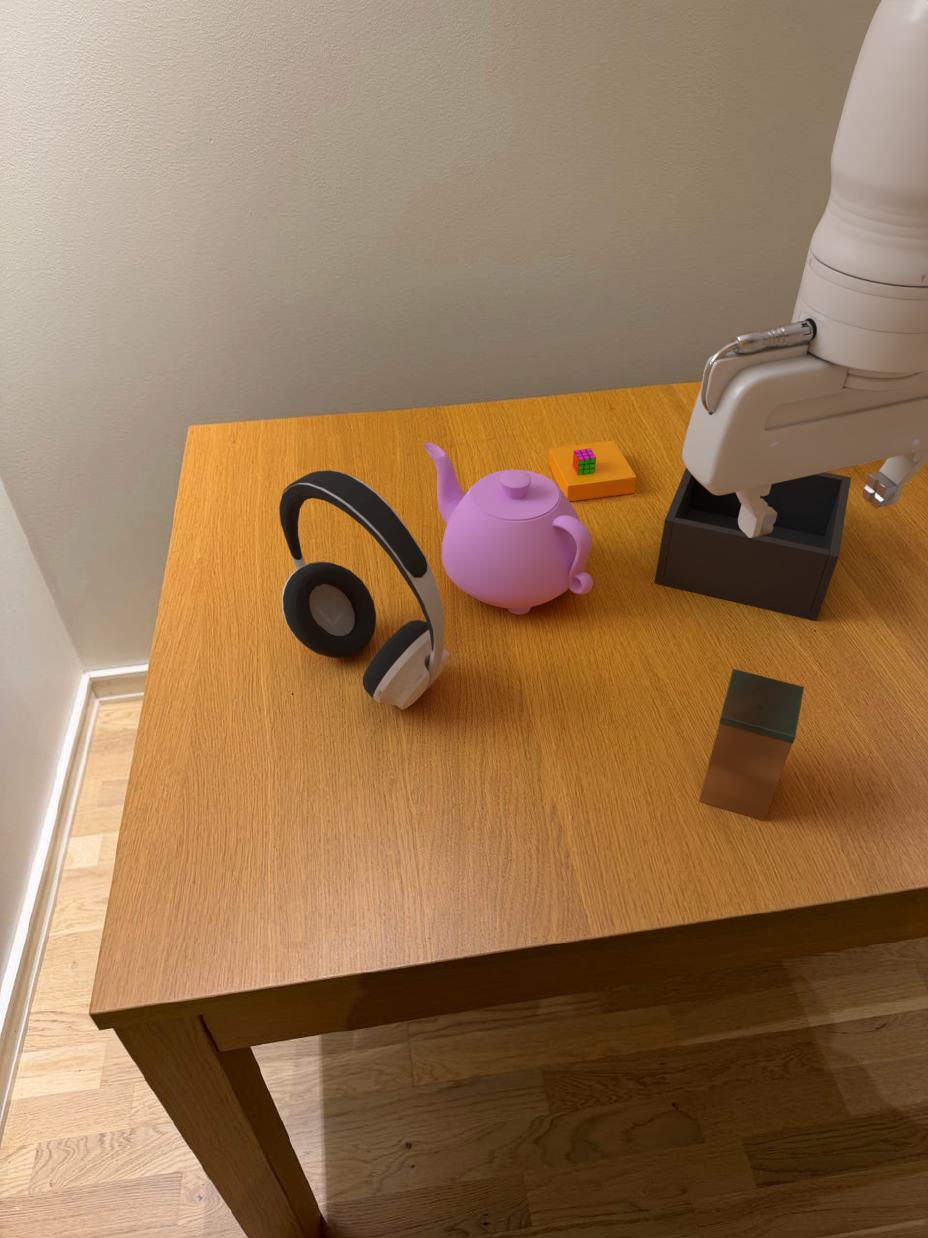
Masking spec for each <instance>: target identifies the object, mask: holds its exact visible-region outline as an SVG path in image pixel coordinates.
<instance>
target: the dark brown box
mask: <svg viewBox="0 0 928 1238" xmlns="http://www.w3.org/2000/svg"><path fill="white" fill-rule="evenodd" d="M851 481H852V478H851V476H845V475H841V474H835V473H831V472H824V473H819V474H815V475H810V476H806V477H801V478H797V479H792V480H788V481H783V482H779V483H774V484H771V488H770V492H769V494H768V495H766V496H761V495H760V498H762V499H763V500H764V501H765V502H767V503H768V506H769V507H772V508H773V509H774V510H775V511H776V512H777V517H776V521H775V523H774V524H773V525H772V526H773V527H774V528H773V532H771V533H769V534H765V535H761V536H757V537H752V538H749V537H748V536H747V535H746V534H745V533H744V532H743V531H742V530H741V529H740V528H739V525H738V518H739V513H740V509H741V503H740V501H739V499H738V497H737V495H736V492H734V493H730V494H725V495H714V494H712V493H711V492H710V491H708V490H707V489H706V488H705V487H704V486H703V485H702V484H700V483H699V482H698V481H697V480H696V479H695V478H694V476H693V475H692V474H691V473H690V472H689V470H688V469H687V468H686V467H685V469H684V472H683V474H682V477H681V479H680V482H679V483H678V487H677V489H676V491H675V494H674V496H673V499H672V501H671V503H670V506H669V508H668V510H667V514H666V516H665V519H664V522H663V529H662V534H661V542H660V547H659V553H658V560H657V564H656V571H655V577H654V584H657V585H661V586H665V587H670V588H674V589H678V590H682V591H686V592H691V593H695V594H699V595H704V596H708V597H712V598H717V599H720V600H725V601H729V602H733V603H739V604H743V605H747V606H751V607H755V608H759V609H764V610H768V611H772V612H777V613H781V614H785V615H789V616H794V617H798V618H803V619H807V620H811V621H815V622H817V621H818V619H819V616H820V614H821V609H822V607H823V604H824V601H825V598H826V595H827V592H828V590H829V587H830V583H831V580H832V578H833V575H834V572H835V569H836V566H837V563H838V560H839V557H840V551H841V545H842V539H843V532H844V526H845V518H846V513H847V506H848V501H849V494H850V488H851V487H850V486H851Z"/></svg>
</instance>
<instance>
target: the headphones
mask: <svg viewBox="0 0 928 1238" xmlns="http://www.w3.org/2000/svg"><path fill="white" fill-rule="evenodd" d="M310 499H316V500H320V501H324V502H326V503H329V504H331V505H333V506H335V507H336V508H338V509H339V510H340V511H342V512H344V513H345V514H347V515H348V516H349V517H350V518H352V519H353V520H354V521H355V522H357V523H358V524H359V525H360V526H361V527H363V528H364V529H365V530H366V531H367V532H368V533H369V534H370V536H372V537H373V539H374V540H375V541H376V542H377V543H378V544H379V546H380V547H381V548H382V549H383V551H384V552H385V553H386V554H387V556H389V558H390V559H391V561H392V562H393V563H394V566H395V567H396V568H397V570H398V571H399V573H400V574H401V576H402V577H403V579H404V581H405V582H406V583H407V585H408V587H409V588H410V590H411V591H412V593H413V595H414V597H415V599H416V600H417V602H418V605H419V607H420V609H421V612H422V614H423V616H424V618H425V621H424V620H420V619H414V620H410V621H408V622H406V623H405V624H403V625H402V626H401V627H399V628H398V630H397V631H396V632H394V633H393V634H392V635H391V636H390V637H389V638H388V639H387V640H386V641H385V642H384V643H383V645H382V646H380V648H379V649H378V651H377V652H376V653H375V654H374V656H373V657H372V659H371V660H370V662H369V663H368V666H367V667H366V669H365V670H364V674H363V676H362V686H363V689H364V690H365V692H366V693H367V694H368V695H369V697H371V699H372V700H374V701H375V702H376V703H378V704H379V705H381V704H388V705H392V706H396V707H397V708H398V709H400V710H402V711H403V710H405V709H407V708H408V707H409V708H410V706H411V705H413V704H414V703H416V701H417V700H419V698H420V697H422V695H423V694H424V693H425V692H426V690H428V689H430V687H431V686H432V685H433V683H434V682H435V681H436V680H437V678H438V677H439V676H440V675H441V673H442V672H443V671H444V669H445V668H446V666H447V664H448V662H449V660H450V657H451V654H450V653H449V652H448V651H447V649H446V648H445V609H444V606H443V602H442V601H443V600H442V597H441V594H440V589H439V587H438V584H437V580H436V578H435V575H434V573H433V571H432V568H431V565H430V564H429V561H428V559H427V557H426V555H425V553H424V551H423V550H422V548H421V547H420V545H419V543H418V542H417V540H416V538H415V537H414V536H413V534H412V533H411V531H410V530H409V529H408V527H407V525H406V524H405V523H404V521H403V520H402V519H401V517H400V516H399V514H398V513H397V512H396V511H395V510H394V508H393V507H392V506H391V505H390V504H389V502H388V501H386V500H385V499H384V498H383V497H382V496H381V495H380V494H379V493H378V492H377V491H376V490H375V489H373V488H372V487H371V486H370V485H368V484H366V483H365V482H364V481H362V480H360V479H359V478H356V477H354V476H353V475H350V474H347V473H344V472H342V471H340V470H339V471H338V470H331V469H327V470H326V469H325V470H317V471H312V472H310V473H307V474H306V475H304V476H302V477H300V478H298V479H296V480H295V481H293V482H290V483H289V484H288V485H287V486H286V487H285V488H284V489H283V492H282V494H281V498H280V502H279V506H278V510H279V522H280V525H281V528H282V529H281V530H282V531H283V535H284V538H285V542H286V544H287V547H288V550H289V553H290V556H291V559H292V561H293V563H294V567H295V569H296V570H294V571H293V572H292V573H291V575H290V576H289V577H288V578H287V580H286V581H285V584H284V586H283V589H282V592H281V611H282V616H283V619H284V622H285V624H286V625H287V627H288V629H289V631H290V633H291V634H292V635H293V636H294V637H295V639H296V640H297V641H298V642H299V643H301V645H302V646H304V647H306V648H307V649H308V650H309V651H310V652H312V653H314V654H316V655H319V656H324V657H327V658H334V659H342V658H349V657H353V656H355V655H358V654H359V653H361V652H362V651H363V650H365V649H366V648H367V647H368V645H369V644H370V642H371V641H372V638H373V637H374V634H375V632H376V626H377V611H376V607H375V602H374V601H375V600H374V599H373V597H372V595H371V593H370V590H369V588H368V587H367V586H366V584H365V583H364V582H363V580H362V579H361V578H360V577H359V576H357V574H355V573H354V572H353V571H351V570H350V569H349V568H346V567H344V566H343V565H340V564H336V563H333V562H331V561H313V562H309V563H307V564H306V561H305V557H304V555H303V553H302V547H301V542H300V536H299V519H300V512H301V508H302V506H303V504H304V503H305V502H306V501H307V500H310Z"/></svg>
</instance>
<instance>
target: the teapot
mask: <svg viewBox="0 0 928 1238" xmlns="http://www.w3.org/2000/svg"><path fill="white" fill-rule="evenodd" d="M423 447H424V449H425V450H426V451H425V452H427V453H428V455H429V456H430V458H431V459H432V461H433V463H434V466H435V471H436V475H437V476H436V477H437V478H436V479H437V489H436V490H437V491H436V492H437V493H436V494H437V495H436V497H437V499H436V500H437V509H438V511H439V514H440V516H441V518H442V520H443V522H444V524H445V525H446V527H445V529H444V533H443V537H442V538H443V539H442V544H441V562H442V566H443V568H444V571H445V573H446V575H447V576H448V578H449V579H450V581H451V582H452V583H453V584H454V585H455V586H456V587H457V588H459V589H460V590H462V591H463V592H464V593H466V594H467V595H469V596H470V597H472V598H473V599H475V600H477V601H479V602H482V603H484V604H487V605H490V606H493V607H497V608H504V609H507V610H508V612H510V613H512V614H514V615H524V614H527V613H529V612H530V611H531V609H532V608H533V607H537V606H540V605H543V604H545V603H548V602H550V601H552V600H554V599H556V598H557V597H559V596H561V595H563V594H564V593H565V592H567V591H568V590H570V591H571V593H573V594H576V595H585V594H588V593H589V592H590V591H591V590H592V589H593V586H594V579H593V577H592V576H591V574H589V573H588V572H586V571H584V570H585V568H586V565H587V561H588V559H589V557H590V553H591V551H592V536H591V533H590V531H589V529H588V528H587V526H586V525H584V523H583V522H582V521H581V519H580V516H579V515H578V513H577V511H576V509H575V508H574V507H573V505H572V503H571V501H570V502H569V500H568V499H567V497H566V496H565V495H564V493H563V492H562V491H561V489H560V487H559V485H558V484H556V483H555V482H554V481H553V480H552V479H550V478H549V477H546V476H545V475H543V474H540V473H538V472H535V471H531V470H527V469H526V470H525V469H505V470H499V471H494V472H492V473H489V474H487V475H485V476H483V477H482V478H479V480H477V481H476V482H475V483H474V484H473V485H472V486H471V487H470V488H469V489H468V490H467V492H466V493H465V491H464V490H463V489H462V488H461V485H460V484H459V481H458V478H457V474H456V471H455V468H454V464H453V462H452V460H451V459H450V456H448V454H447V453H446V451H445V450H443V449H442V448H441V447H439V446H438V445H436V444H434V443H432V442H427V441H426V442H424V444H423Z"/></svg>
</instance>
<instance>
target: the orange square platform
mask: <svg viewBox="0 0 928 1238" xmlns="http://www.w3.org/2000/svg"><path fill="white" fill-rule="evenodd" d="M547 461H548V462H547V465H548V468H549V469H550V471H551V473H552V475H553V477H554V479H555V481H556V483H557V486H558V487H559V488H560V489H561V491H562V492H563V493H564V495H565V496H566V497H567V499H568V500H569V502H570V503H571V502H577V501H585V500H586V501H587V500H593V499H599V498H608V497H616V496H623V495H631V494H635V492H636V484H637V478H638V477H637V475H636V474H635V472H634V470H633V469H632V467H631V465H630V464H629V462H628V460H627V459H626V457H625V456H624V454H623V452H622V451H621V449H620V447H619V446H618V444H617V443H616V441H615V440H606V441H598V442H590V443H581V444H575V445H564V446H557V447H550V448H548V456H547Z"/></svg>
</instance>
